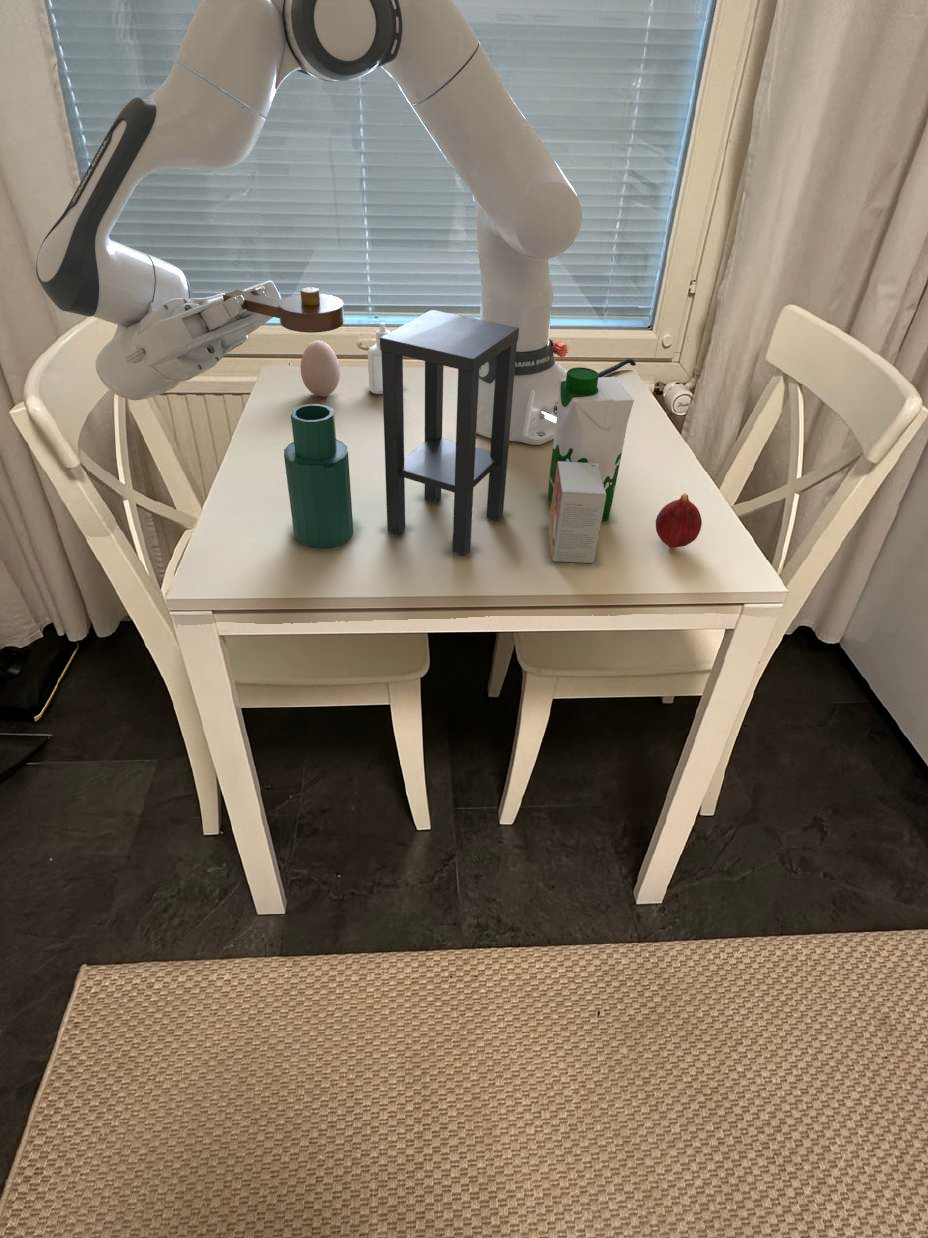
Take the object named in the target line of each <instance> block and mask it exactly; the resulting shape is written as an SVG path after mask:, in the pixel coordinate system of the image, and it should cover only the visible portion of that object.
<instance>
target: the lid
mask: <svg viewBox="0 0 928 1238" xmlns="http://www.w3.org/2000/svg"><path fill="white" fill-rule="evenodd" d="M241 290H242V289H234V290H231V291H229V292H227V293H224V295H223V300H224V301H226V300H228V299H229V298H232V297H234V296H237V295H242V297H243V298H244V302H245V303H246V304H247V306H248V309H247V310H246V311H250V312H254V313H259V314H263V315H267V316H271V317H273V318H276V319H279V323H280V325H281V327H283V328H285V329H286V330H289V331H292V332H298V333H306V334H309V333H310V334H311V333H313V334H315V333H326V332H330V331H334V330H337V329H339V328H342V326H344V324H345V309H344V301H343V300H342V299H341V298H339V297H337V296H334V295H330V294H325V293H320V289H319V288H318V287H314V286H313V287H312V286H307V287H302V288H301V289H300V291H299V292H300V293H298V294H292V295H289V296H286V297H283V298H281V299H277V298H272V297H268V296H263V295H259V294H255V293H250V292H246V291H241Z"/></svg>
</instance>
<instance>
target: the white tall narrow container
mask: <svg viewBox="0 0 928 1238" xmlns="http://www.w3.org/2000/svg"><path fill="white" fill-rule="evenodd" d="M390 332H391V331H390V330H389V329H387V327H386V323H385V322H380V326H379V329H377V330H376V331H375V336H376V337H375V339H376V343H375V344H373V345H372V346H371V347H369V348H368V350H367V369H368V370H367V372H368V389H369V391H370V392H371V393H373V394H375V395H383V384H382V354H381V350H380V337H382V336H384V335H386V334H388V333H390Z"/></svg>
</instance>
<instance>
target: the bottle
mask: <svg viewBox="0 0 928 1238" xmlns="http://www.w3.org/2000/svg"><path fill="white" fill-rule="evenodd" d="M290 420H291V421H290V422H291V429H292V439H293V441H292V442H290V443H288V444H287V446H286V447H285V448H284V449H283V457H284V465H285V473H286V482H287V489H288V498H289V505H290V513H291V520H292V529H293V535H294V537H295V539H296V541H297V542H299V543H300V544H301V545H303V546H306V547H309V548H312V549H330V548H334V547H338V546H341V545H343V544H344V543H346V542H348V541H349V540H350V539H351V538H352V536H353V535H354V521H353V519H354V518H353V507H352V506H353V503H352V491H351V489H352V488H351V477H350V459H349V448H348V446H347V445H346V444H345V443H344V442H343V440H342V441H341V440H339V439H337V436H336V422H335V421H336V420H335V410H334V409H332V408H331V407H330V406H327V405H324V404H321V403H307V404H303V405H299V406H297V407H295V408H293V409H292V410H291V413H290Z"/></svg>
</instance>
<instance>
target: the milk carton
mask: <svg viewBox="0 0 928 1238" xmlns="http://www.w3.org/2000/svg"><path fill="white" fill-rule="evenodd" d="M566 371H567V376H566V378H560V379H559V390H558V405H557V417H556V426H555V434H554V439H553V441H552V442H553V444H552V451H551V460H550V467H549V477H548V492H547V498H548V501H549V503H550V505H551V504H552V496H553V489H554V482H555V475H556V467H557V462H558V461H561V462H580V463H598V464H600V471H601V476H602V480H603V484H604V488H605V492H606V500H605V505H604V511H603V516H602V521H609V519H610V515H611V509H612V505H613V500H614V495H615V490H616V485H617V480H618V476H619V475H618V474H619V470H620V466H621V465H620V464H621V459H622V453H623V449H624V443H625V438H626V433H627V427H628V423H629V419H630V416H631V412H632V409H633V405H634V402H635V399H634V398H633V397H632V396H631V394H630V393H629V392H628V390H627V389H626V388H625V387H624V386H623V384H622V383H621V382H620V380H619V379H618V378H617V377H616V376H602V377H598V376H599V375H598V373H599V372H598V371H596V370H594V369H592V368H588V367H572V368H570V369H568V370H566Z"/></svg>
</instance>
